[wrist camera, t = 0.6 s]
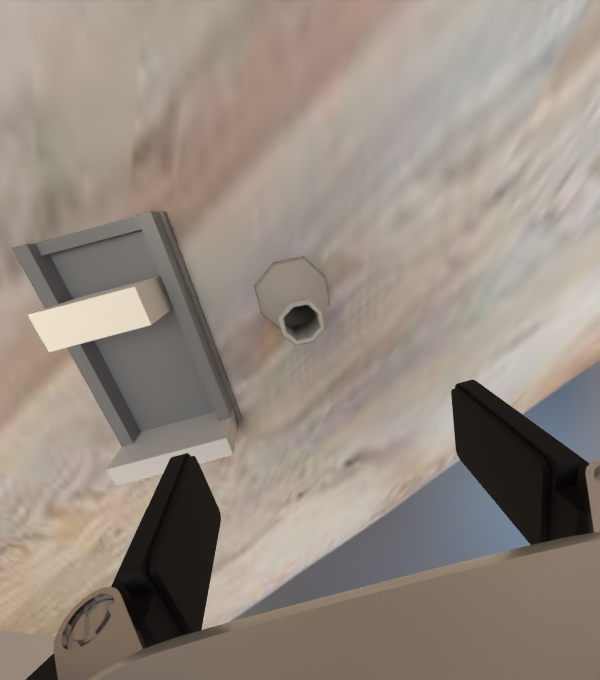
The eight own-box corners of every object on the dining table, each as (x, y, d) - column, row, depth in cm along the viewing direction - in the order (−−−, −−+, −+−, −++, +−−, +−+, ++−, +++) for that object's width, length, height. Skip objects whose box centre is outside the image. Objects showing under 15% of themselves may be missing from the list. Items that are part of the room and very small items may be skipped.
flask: (306, 242, 29) (323, 248, 20) (341, 307, 32) (370, 339, 22) (241, 281, 30) (227, 305, 20) (280, 342, 32) (283, 387, 23)
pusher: (76, 297, 28) (27, 315, 22) (162, 275, 28) (134, 286, 22) (92, 328, 29) (48, 352, 23) (174, 306, 29) (151, 325, 23)
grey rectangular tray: (33, 247, 27) (-29, 251, 22) (165, 212, 27) (137, 207, 22) (138, 445, 35) (112, 486, 29) (241, 417, 35) (236, 454, 29)
